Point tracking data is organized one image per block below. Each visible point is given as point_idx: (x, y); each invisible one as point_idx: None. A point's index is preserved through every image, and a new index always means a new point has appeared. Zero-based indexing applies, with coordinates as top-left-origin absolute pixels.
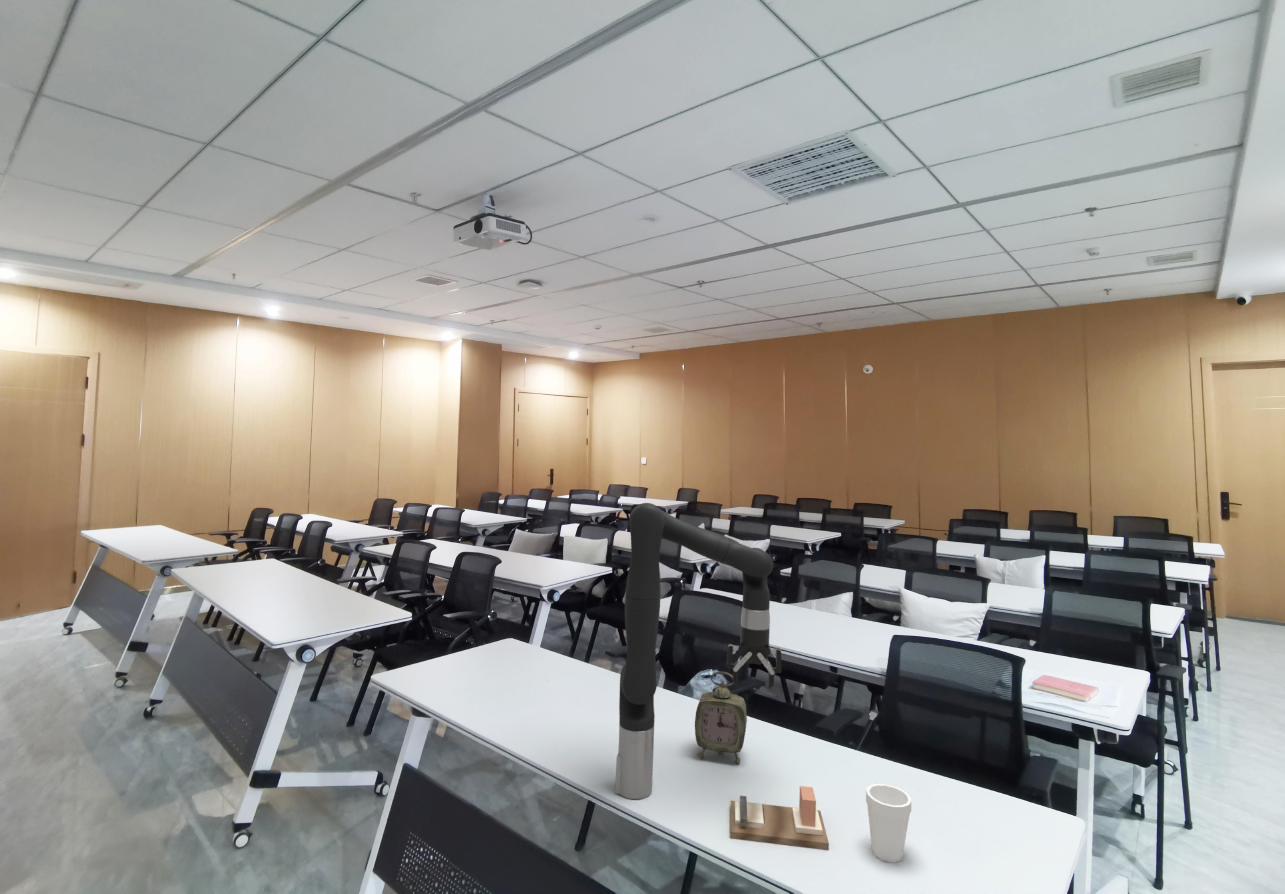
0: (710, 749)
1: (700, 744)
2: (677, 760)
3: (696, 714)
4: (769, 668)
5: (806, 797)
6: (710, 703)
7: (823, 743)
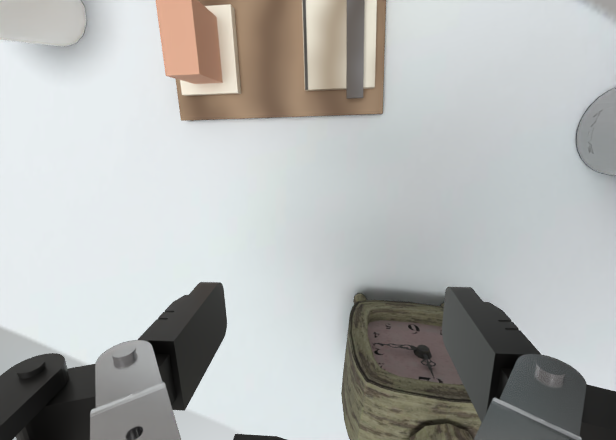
0: (431, 305)
1: None
2: (502, 285)
3: None
4: (128, 389)
5: (181, 10)
6: None
7: None
